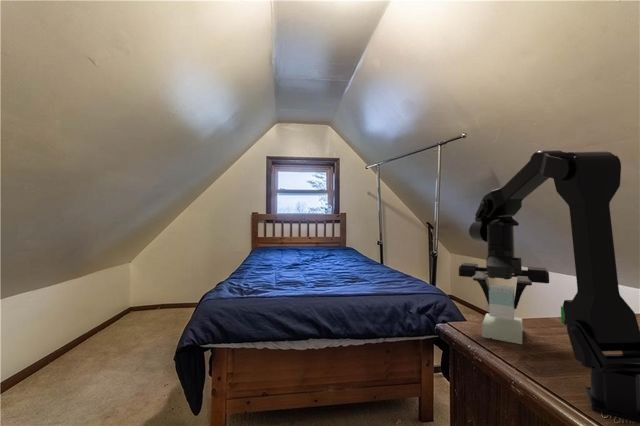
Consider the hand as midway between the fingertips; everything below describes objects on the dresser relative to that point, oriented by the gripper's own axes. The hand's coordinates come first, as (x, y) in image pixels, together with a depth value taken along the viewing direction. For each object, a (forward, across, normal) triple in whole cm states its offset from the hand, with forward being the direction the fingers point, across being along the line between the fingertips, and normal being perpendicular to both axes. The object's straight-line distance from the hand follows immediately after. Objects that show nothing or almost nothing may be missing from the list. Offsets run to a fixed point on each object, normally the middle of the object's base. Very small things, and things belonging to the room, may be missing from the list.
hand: (502, 307), depth 75 cm
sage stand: (+6, 0, 0) cm, 7 cm away
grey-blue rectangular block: (+2, 0, 0) cm, 2 cm away
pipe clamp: (+7, +17, +13) cm, 22 cm away
